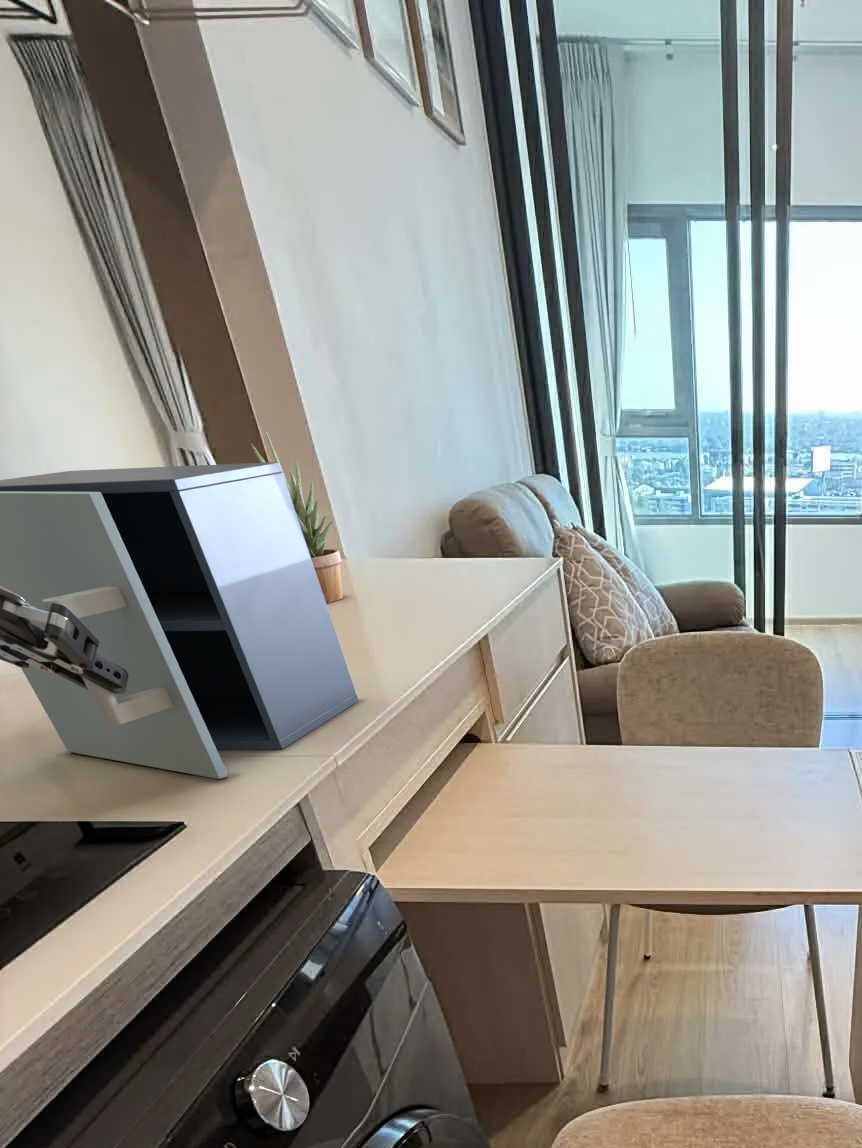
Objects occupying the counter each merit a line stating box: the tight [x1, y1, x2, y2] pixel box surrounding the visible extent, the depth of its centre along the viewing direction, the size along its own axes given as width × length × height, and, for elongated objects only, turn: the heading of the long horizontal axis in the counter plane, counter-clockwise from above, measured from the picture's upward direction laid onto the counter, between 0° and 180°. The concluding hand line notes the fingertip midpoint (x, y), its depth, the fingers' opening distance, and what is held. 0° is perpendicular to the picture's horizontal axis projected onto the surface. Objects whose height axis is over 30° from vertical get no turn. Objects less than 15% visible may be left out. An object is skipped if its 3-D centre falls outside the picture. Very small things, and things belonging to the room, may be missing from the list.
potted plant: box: [251, 431, 344, 604], centre depth 142 cm, size 10×10×25 cm
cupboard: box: [0, 461, 359, 750], centre depth 88 cm, size 16×24×24 cm
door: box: [0, 491, 229, 780], centre depth 76 cm, size 7×24×24 cm, turn 66°
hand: (112, 683), depth 73 cm, fingers closed on door
